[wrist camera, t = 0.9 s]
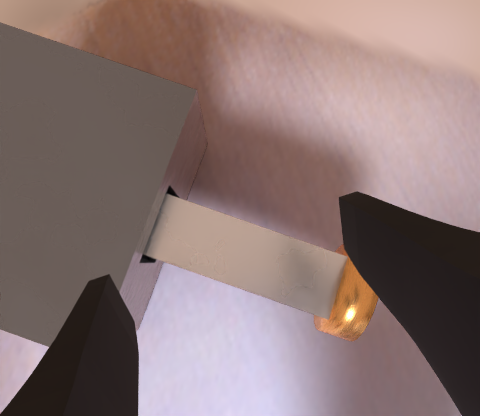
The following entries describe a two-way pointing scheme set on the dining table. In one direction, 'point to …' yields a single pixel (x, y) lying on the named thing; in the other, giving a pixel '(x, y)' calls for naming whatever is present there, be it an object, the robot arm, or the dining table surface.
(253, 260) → the shaft
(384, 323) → the dining table surface
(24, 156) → the housing
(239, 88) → the dining table surface
